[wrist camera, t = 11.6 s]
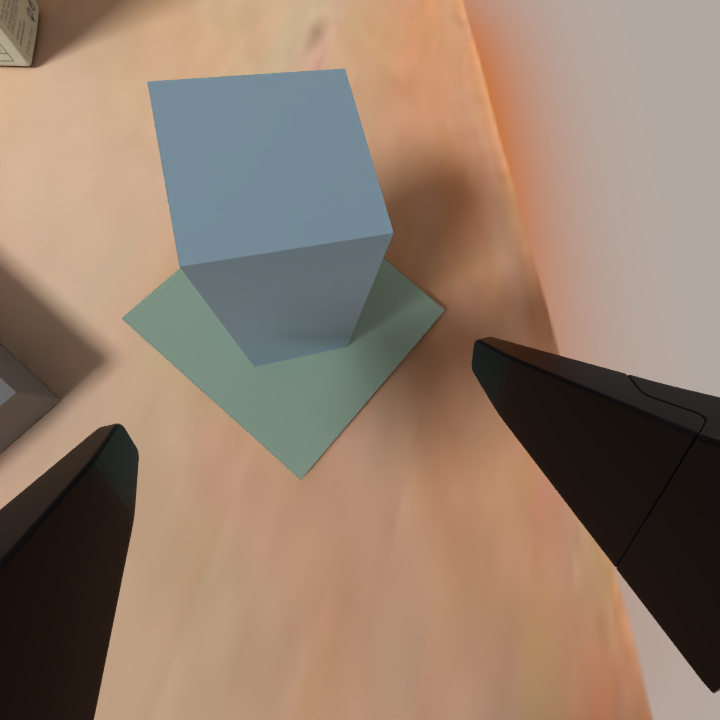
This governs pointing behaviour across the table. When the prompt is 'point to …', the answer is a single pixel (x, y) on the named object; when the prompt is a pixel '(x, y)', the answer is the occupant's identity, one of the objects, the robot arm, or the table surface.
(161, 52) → the table surface
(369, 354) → the green mat
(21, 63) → the skincare box
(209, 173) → the tall square blue prism
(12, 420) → the square socket block
